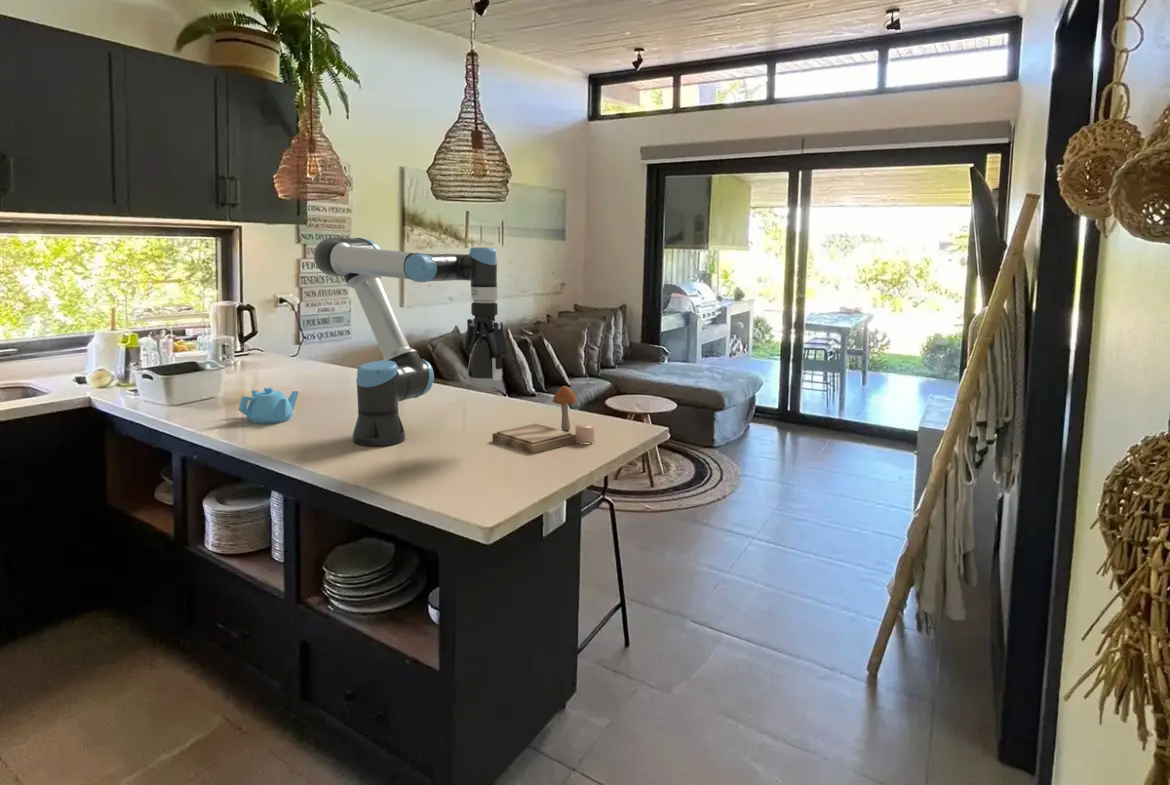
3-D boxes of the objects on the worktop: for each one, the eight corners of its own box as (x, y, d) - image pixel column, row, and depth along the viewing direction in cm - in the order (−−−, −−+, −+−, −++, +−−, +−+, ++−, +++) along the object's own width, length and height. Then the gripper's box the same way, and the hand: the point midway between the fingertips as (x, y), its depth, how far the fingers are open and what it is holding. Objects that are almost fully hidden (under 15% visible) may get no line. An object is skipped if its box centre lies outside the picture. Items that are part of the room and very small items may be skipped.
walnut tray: (492, 441, 220) (492, 431, 219) (535, 431, 233) (535, 422, 232) (532, 453, 208) (532, 443, 207) (575, 442, 221) (576, 433, 220)
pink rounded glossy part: (571, 441, 222) (571, 426, 221) (584, 438, 226) (584, 422, 225) (585, 445, 218) (585, 429, 217) (598, 442, 222) (598, 426, 221)
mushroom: (546, 429, 235) (547, 384, 232) (565, 426, 240) (566, 382, 238) (562, 434, 229) (563, 388, 226) (581, 431, 235) (582, 385, 232)
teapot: (254, 414, 244) (252, 383, 242) (300, 414, 246) (299, 383, 244) (237, 425, 230) (235, 392, 227) (286, 425, 231) (284, 392, 229)
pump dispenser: (493, 382, 219) (493, 333, 216) (508, 388, 211) (508, 336, 208) (462, 385, 214) (461, 335, 211) (476, 391, 205) (475, 338, 202)
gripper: (450, 300, 213) (452, 374, 217) (498, 304, 197) (499, 384, 201) (471, 299, 218) (473, 371, 222) (519, 303, 202) (520, 381, 206)
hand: (485, 377), depth 212 cm, fingers closed on pump dispenser, 10 cm apart
